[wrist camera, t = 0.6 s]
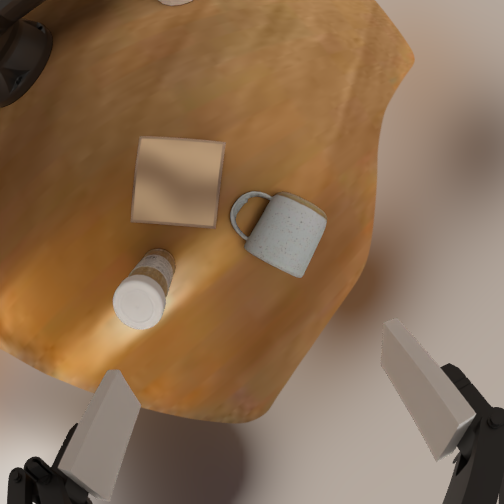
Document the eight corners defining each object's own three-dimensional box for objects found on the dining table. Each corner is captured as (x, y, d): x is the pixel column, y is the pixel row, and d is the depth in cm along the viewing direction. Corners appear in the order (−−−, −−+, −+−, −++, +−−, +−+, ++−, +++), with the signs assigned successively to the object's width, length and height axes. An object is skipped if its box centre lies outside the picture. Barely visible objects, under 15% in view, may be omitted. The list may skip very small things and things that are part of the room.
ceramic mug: (317, 214, 36) (343, 219, 29) (289, 268, 37) (309, 286, 30) (247, 176, 34) (258, 171, 26) (217, 234, 35) (220, 246, 27)
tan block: (150, 144, 31) (139, 135, 25) (221, 150, 32) (225, 141, 26) (142, 216, 32) (130, 222, 26) (213, 222, 34) (215, 229, 28)
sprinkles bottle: (144, 282, 34) (116, 331, 21) (140, 248, 33) (107, 281, 20) (177, 281, 35) (166, 331, 22) (175, 246, 34) (160, 280, 21)
